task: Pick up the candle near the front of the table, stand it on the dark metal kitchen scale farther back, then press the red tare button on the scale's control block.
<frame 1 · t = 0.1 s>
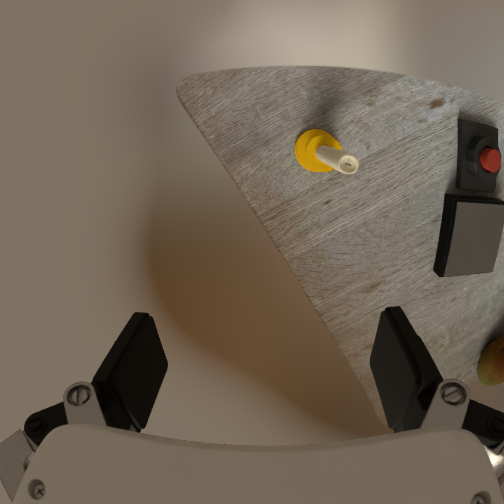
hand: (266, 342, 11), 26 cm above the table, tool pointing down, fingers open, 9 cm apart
candle: (315, 150, 32), on the table
scale: (467, 233, 34), on the table
tare button: (490, 159, 26), point 3 cm above the table, slide at 0.1 cm
fruit: (489, 348, 44), on the table
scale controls: (476, 156, 29), on the table
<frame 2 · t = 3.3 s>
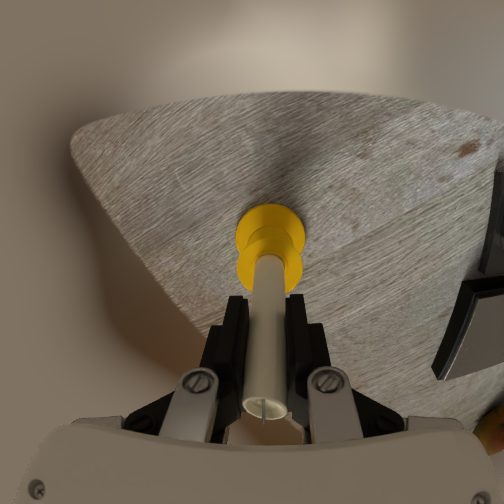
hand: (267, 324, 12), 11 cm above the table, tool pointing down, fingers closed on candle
candle: (270, 235, 22), on the table, touching gripper
scale: (482, 321, 24), on the table
fruit: (487, 414, 34), on the table
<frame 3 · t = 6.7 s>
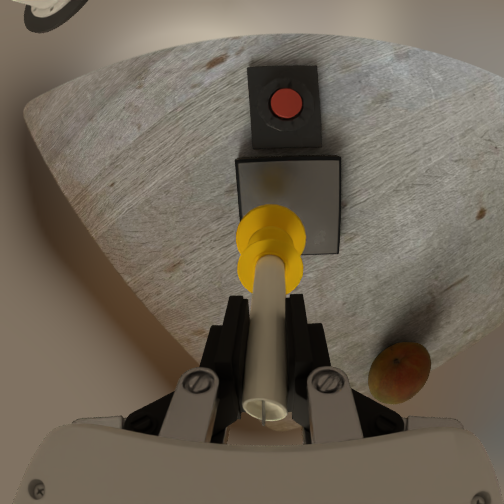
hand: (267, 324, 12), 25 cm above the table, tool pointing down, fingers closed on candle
candle: (271, 236, 22), point 14 cm above the table, touching gripper
scale: (289, 203, 35), on the table
tare button: (286, 103, 27), point 3 cm above the table, slide at 0.1 cm
fruit: (392, 356, 44), on the table
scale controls: (284, 106, 30), on the table
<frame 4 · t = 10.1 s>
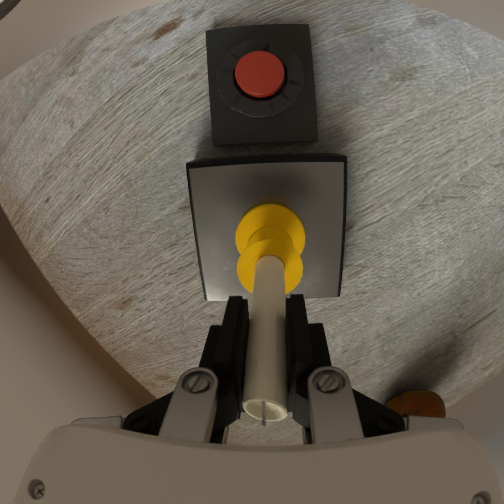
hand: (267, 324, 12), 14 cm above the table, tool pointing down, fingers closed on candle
candle: (270, 236, 22), point 3 cm above the table, touching gripper, scale
scale: (269, 224, 24), on the table
tare button: (260, 74, 16), point 3 cm above the table, slide at 0.1 cm
fruit: (399, 401, 34), on the table
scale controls: (261, 83, 20), on the table
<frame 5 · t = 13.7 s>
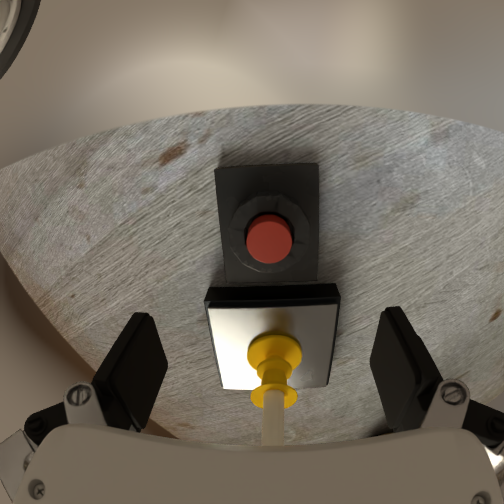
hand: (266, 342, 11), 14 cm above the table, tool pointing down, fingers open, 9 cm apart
candle: (274, 352, 26), point 3 cm above the table, touching scale
scale: (273, 334, 29), on the table
tare button: (269, 238, 21), point 3 cm above the table, slide at 0.1 cm
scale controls: (269, 223, 24), on the table
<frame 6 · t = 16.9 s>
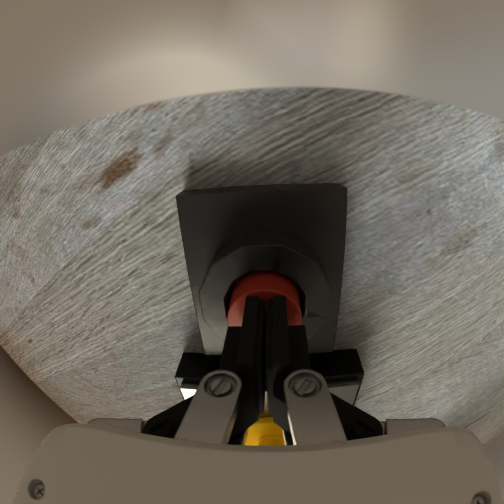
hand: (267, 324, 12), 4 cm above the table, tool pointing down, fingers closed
candle: (271, 431, 18), point 3 cm above the table, touching scale
scale: (271, 403, 21), on the table
tare button: (264, 309, 13), point 3 cm above the table, slide at -0.1 cm, touching gripper
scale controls: (266, 275, 16), on the table
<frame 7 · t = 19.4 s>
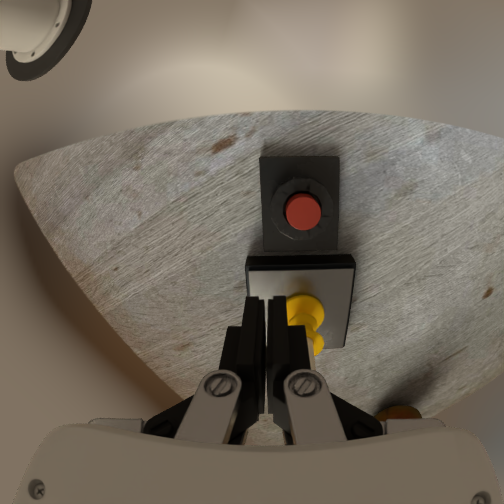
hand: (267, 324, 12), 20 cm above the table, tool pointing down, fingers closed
candle: (301, 313, 32), point 3 cm above the table, touching scale
scale: (299, 300, 34), on the table
tare button: (302, 211, 26), point 3 cm above the table, slide at 0.1 cm
fruit: (388, 413, 43), on the table
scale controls: (299, 202, 30), on the table
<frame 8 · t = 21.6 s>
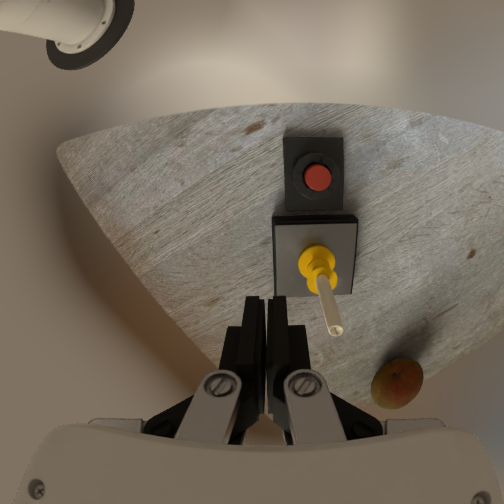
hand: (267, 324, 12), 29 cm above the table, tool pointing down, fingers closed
candle: (316, 261, 39), point 3 cm above the table, touching scale
scale: (313, 253, 42), on the table
tare button: (317, 177, 34), point 3 cm above the table, slide at 0.1 cm
fruit: (391, 369, 52), on the table
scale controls: (313, 173, 37), on the table
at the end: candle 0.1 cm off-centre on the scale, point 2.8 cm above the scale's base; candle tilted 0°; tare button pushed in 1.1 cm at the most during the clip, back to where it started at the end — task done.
